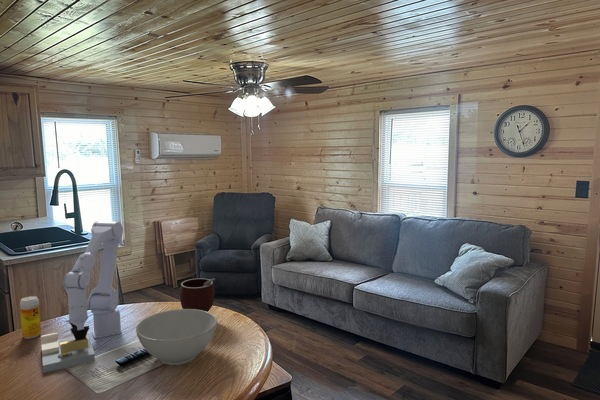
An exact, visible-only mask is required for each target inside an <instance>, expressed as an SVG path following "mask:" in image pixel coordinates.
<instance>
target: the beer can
mask: <svg viewBox="0 0 600 400" xmlns="http://www.w3.org/2000/svg"><path fill="white" fill-rule="evenodd" d="M19 309H20V310H19V311H20V323H21V324H20V325H21V336H22V338H23V339H25V340H31V339H35V338H38V337H39V336H40V334H41V333H42V332H41V331H42V330H41V314H40V313H41V312H40V300H39V298H38V296H36V295H29V296H25V297H22V298H21V299H20V302H19Z"/></svg>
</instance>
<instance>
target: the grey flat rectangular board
mask: <svg viewBox="0 0 600 400" xmlns="http://www.w3.org/2000/svg"><path fill="white" fill-rule="evenodd" d="M86 337H87V338H88V348H85V349H80V350H76V351H71V352H68V355H67V356H62V354H61V349H60V343H62V342H67V341H72V340H75V337H74V335H72V336H69V337H63V338H58V344H59V351H57V352H53V353H48V354H44V355H42V354H41V357H42V359H41V361H42V373H43V374H45V373H50V372H53V371H57V370H62V369H66V368H70V367H74V366H78V364H79V365H83V364H87V363H91V362H95V361H96V357H95V351H94V348H93V345H92V341H91V337H90V335H89V333H88V332H87V335H86Z"/></svg>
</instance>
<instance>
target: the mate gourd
mask: <svg viewBox="0 0 600 400" xmlns="http://www.w3.org/2000/svg"><path fill="white" fill-rule="evenodd" d="M213 281H216V278H211V279H209V278H204V277H201V278H200V277H199V278H191V279H187V280H186V279H185V280H183V281H182V282H181V283H180V290H179V300H180V305H181V309H196V310H202V311H206V312H210V310H211V309H212V307H213V305H214V301H215V288H214V287H215V285H214V284H213V283H214V282H213Z"/></svg>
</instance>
